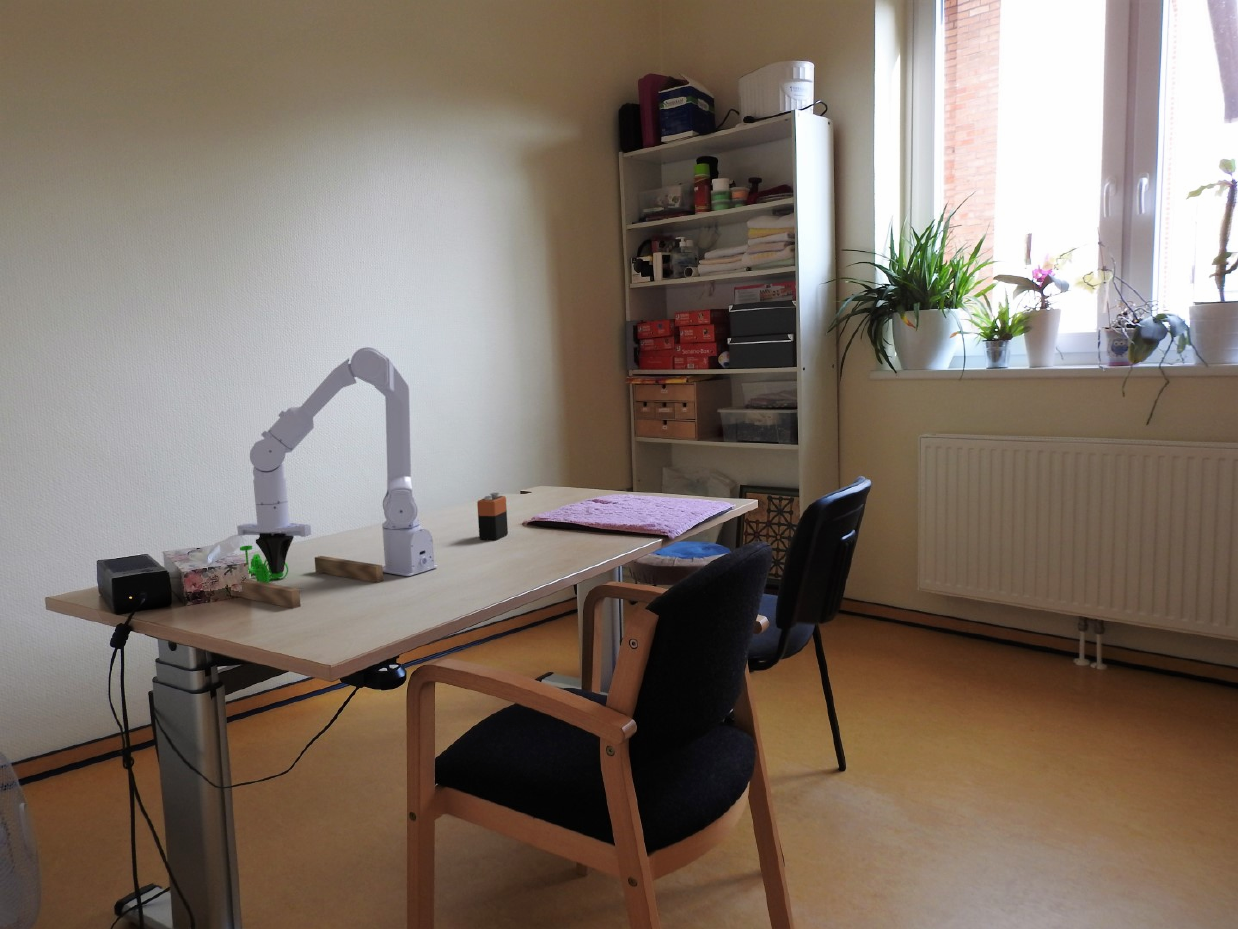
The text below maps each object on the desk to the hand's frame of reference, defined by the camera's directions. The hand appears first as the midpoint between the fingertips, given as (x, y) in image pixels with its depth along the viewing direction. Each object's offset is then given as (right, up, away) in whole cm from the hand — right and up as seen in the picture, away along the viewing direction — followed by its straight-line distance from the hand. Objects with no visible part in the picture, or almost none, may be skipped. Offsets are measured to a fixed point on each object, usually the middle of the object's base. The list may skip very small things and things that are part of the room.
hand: (277, 572), depth 172 cm
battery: (+36, +4, +34) cm, 50 cm away
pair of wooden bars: (+8, -2, -5) cm, 9 cm away
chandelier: (-6, -2, +3) cm, 7 cm away
